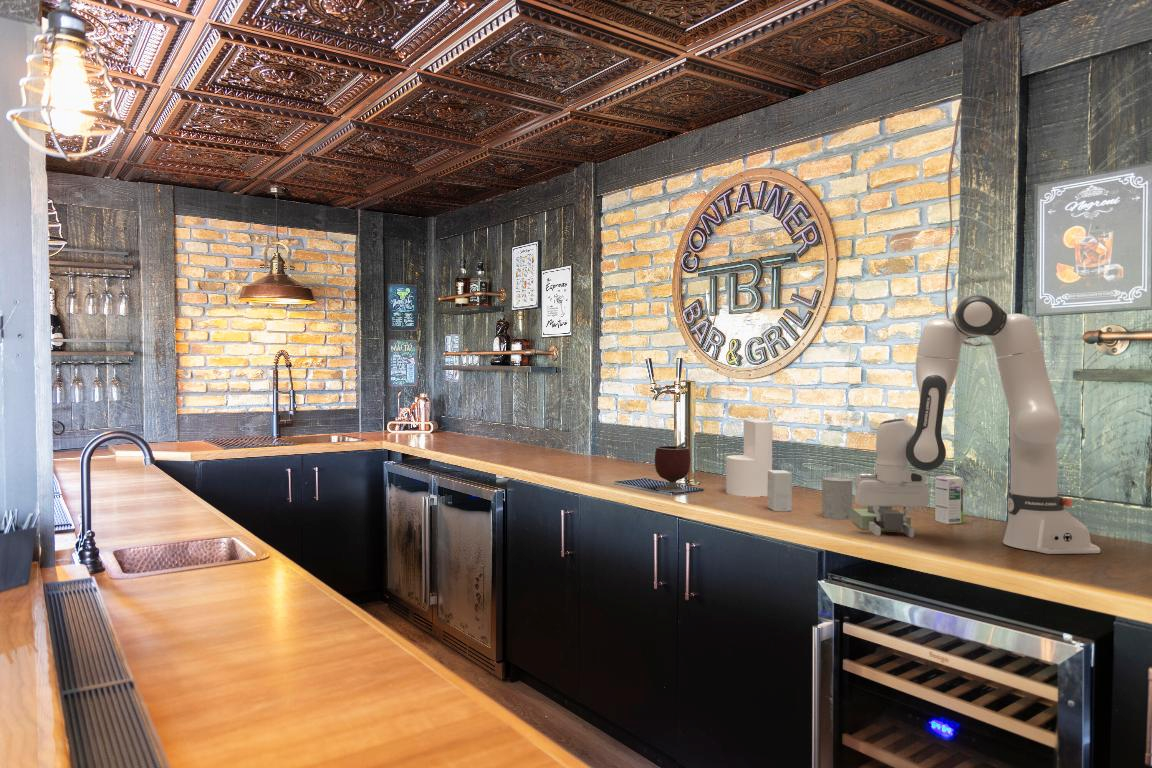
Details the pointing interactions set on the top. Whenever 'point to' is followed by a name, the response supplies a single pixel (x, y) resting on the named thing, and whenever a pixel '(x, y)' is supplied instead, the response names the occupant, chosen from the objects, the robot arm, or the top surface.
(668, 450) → the mate gourd
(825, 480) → the grey concrete cylinder
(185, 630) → the top surface
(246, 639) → the top surface
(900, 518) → the dark grey box
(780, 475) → the small box
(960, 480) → the syrup box
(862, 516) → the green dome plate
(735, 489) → the pale stepped column block
